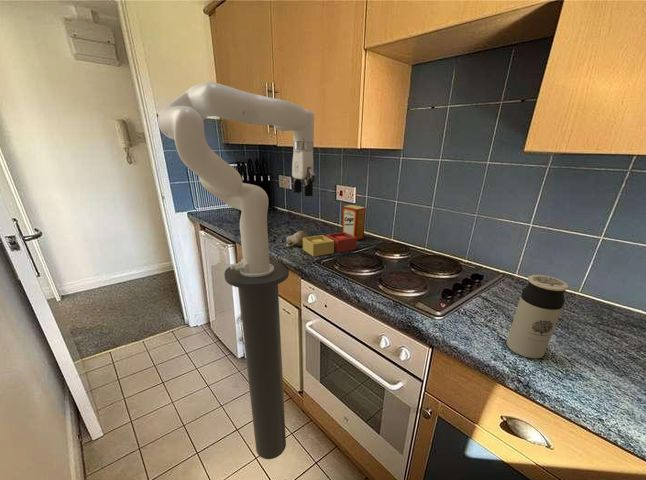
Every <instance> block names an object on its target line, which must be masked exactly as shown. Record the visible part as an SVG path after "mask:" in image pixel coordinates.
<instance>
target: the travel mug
mask: <svg viewBox="0 0 646 480" xmlns="http://www.w3.org/2000/svg"><path fill="white" fill-rule="evenodd" d="M527 281H528V283H527V285H526V286H525V287H524V288H523V289H522V291H521V294H520V297H519V301H518V304H517V308H516V311H515V314H514V317H513V320H512V323H511V327H510V329H509V332H508V335H507V340H506V342H505V343H506V345H507V348H509V349H510V350H511V351H513V352H514V353H516V354H517V355H518V356H519V355H520V356H522V357H525V358H529V359H541V358H543V357H544V356H545V353H546V351H547V349H548V346H549V343H550V341H551V338H552V335H553V333H554V330H555V327H556V325H557V322H558V320H559V317H560V315H561V313H562V309H563V307H564V304H565V302H566V299H565V295H564V294H565V292H566V291H567V290H568V289H569V284H568V283H566V282H565V281H563V280H562V279H559V278H557V277H553V276H549V275H544V274H532V275H529V276H528V277H527Z"/></svg>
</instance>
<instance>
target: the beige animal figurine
mask: <svg viewBox="0 0 646 480" xmlns="http://www.w3.org/2000/svg"><path fill="white" fill-rule="evenodd" d="M305 237H309V236H308V233H307V231H305V230H299V231H296V233H294V234H292V235H288V236H287V237H286V245H285V246H286V247H287V248H291V247H294V246H299V247H303V238H305Z"/></svg>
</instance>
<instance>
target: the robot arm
mask: <svg viewBox="0 0 646 480" xmlns="http://www.w3.org/2000/svg"><path fill="white" fill-rule="evenodd" d="M208 117H216V118H221V119H226V120H231V121H234V122H240V123H244V124H247V125H255V126H273V127H274V129H276V130H278V131H283V132H292V137H293V138H292V139H293V140H292V143H293V144H292V146H293V150H292V152H293V154H292V162H291V163H292V165H291V176H292V178H293V192H294V193H295V194H297V193H301V194H302V191H303V182H302V180H304V197H313V194H314V193H313V192H314V182H315V177H316V174H315V172H314V141H315V140H314V139H315V136H314V135H315V114H314V111H312V110H310V109H305V108H304V107H303V106H301V105H300V104H297V103H294V102H292V101H287V100H284V99H279V98H275V97H270V96H265V95H261V94H256V93H251V92H248V91H244V90H241V89H238V88H234V87H232V86H228V85H225V84H222V83H218V82H214V81H205V82H201V83H197V84H194V85H193V86H191V87H189V88H188V89H186V90H185V91H184V92H183V93H181V94H180V95H179V96H178V97H176V98H175V99H173V100H172V101H171V102H170V103H169V104H167V105H165V106H164V107H163V108H162V109H161V110H160V111H159V113H158V115H157V126H158V128H159V130H160V132H161V133H162V134H163V135H164V136H165V137H167V138H169V139H171V140H174V144H175V147H176V151H177V154H178V157H179V158H180V160H181V161H182V163H183V164H184V165H185V166H186V168H188V169H189V170H190V171H191V172H193V173H194V174H195V175H197V176H198V180H199V182H200V185H202V187H203V188H204V189H205V190H206V191H207V192H209V193H210V194H212V195H213V196H215V197H216V198H217V199H219V200H220V201H221V202H222V203H224V204H226V205H228V206H230V208H232V209H235V210H239V211H241V213H240V218H239V232H240V233H239V234H240V244H241V252H242V259H240V261H239V262H237V263H238V264H237V263H232V264H229V267H230V268H231V270H232V269H236V271H238V270H240V273H241V274H242V275H244V276H247V277H263V276H267V275H269V274H271V273H272V272H273V271H274V266H273V265H271V264H270V263H269V260H270V249H269V246H270V245H269V232H268V231H269V230H268V211H269V196H268V194H267V192H266V191H265V189H263V188H262V187H261V186H259V185H256V184H251V183H246V182H243V178H242V176H241V174H240V173H239V172H238V170H237V169H236V168H235V167H234V166H232V165H231V164H230V163H228V162H227V161H226V160H224V159H223V158H222V157H221V156H220V155H218V153H216V152H215V151H214V150H213V149H212V148H211V146H209V144H208V142H207V139H206V134H205V123H204V121H205V120H206V119H207V118H208Z"/></svg>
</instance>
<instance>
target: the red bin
mask: <svg viewBox="0 0 646 480" xmlns="http://www.w3.org/2000/svg"><path fill="white" fill-rule="evenodd" d="M337 236H345V237H347V238H348V239H342V240H337V239H335V237H337ZM325 237H327V238H329V239H331V240H333V241H334V252H336V253H343V252H348V251H355V250H357V243H358V242H357V241H358V240H357V237H354V236H352V235H350V234H348V233H346V232H342V231H341V232H336V233H327V234H326V235H325Z"/></svg>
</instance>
